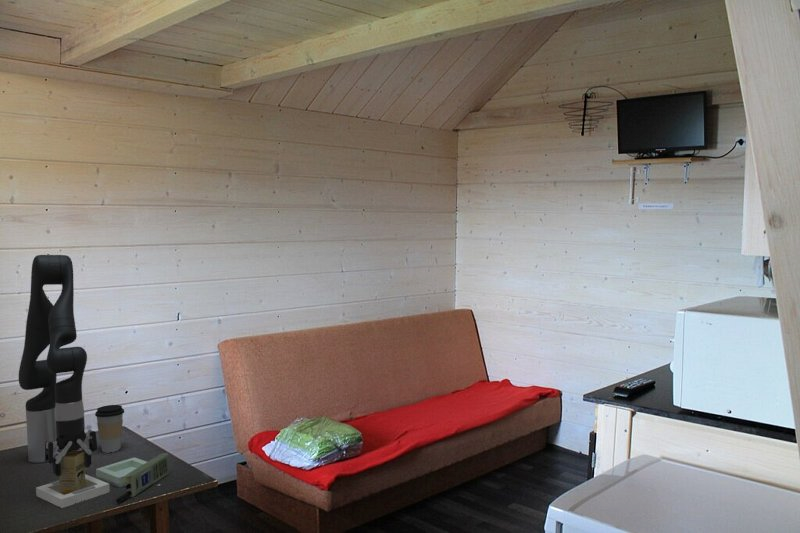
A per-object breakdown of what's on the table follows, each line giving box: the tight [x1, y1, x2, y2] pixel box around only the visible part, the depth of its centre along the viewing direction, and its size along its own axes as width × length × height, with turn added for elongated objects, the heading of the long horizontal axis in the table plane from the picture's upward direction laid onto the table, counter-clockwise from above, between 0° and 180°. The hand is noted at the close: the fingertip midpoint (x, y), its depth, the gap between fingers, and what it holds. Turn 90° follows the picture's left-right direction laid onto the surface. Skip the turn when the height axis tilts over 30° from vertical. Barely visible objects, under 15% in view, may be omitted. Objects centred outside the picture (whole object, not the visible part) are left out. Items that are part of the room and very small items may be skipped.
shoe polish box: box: [58, 450, 86, 495], centre depth 201 cm, size 5×5×12 cm
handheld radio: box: [115, 452, 170, 504], centre depth 205 cm, size 7×3×25 cm
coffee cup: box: [94, 404, 125, 454], centre depth 240 cm, size 9×9×15 cm
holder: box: [35, 473, 111, 509], centre depth 201 cm, size 15×14×3 cm
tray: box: [95, 457, 148, 488], centre depth 215 cm, size 13×13×3 cm
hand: (72, 471), depth 201 cm, fingers open, 8 cm apart
